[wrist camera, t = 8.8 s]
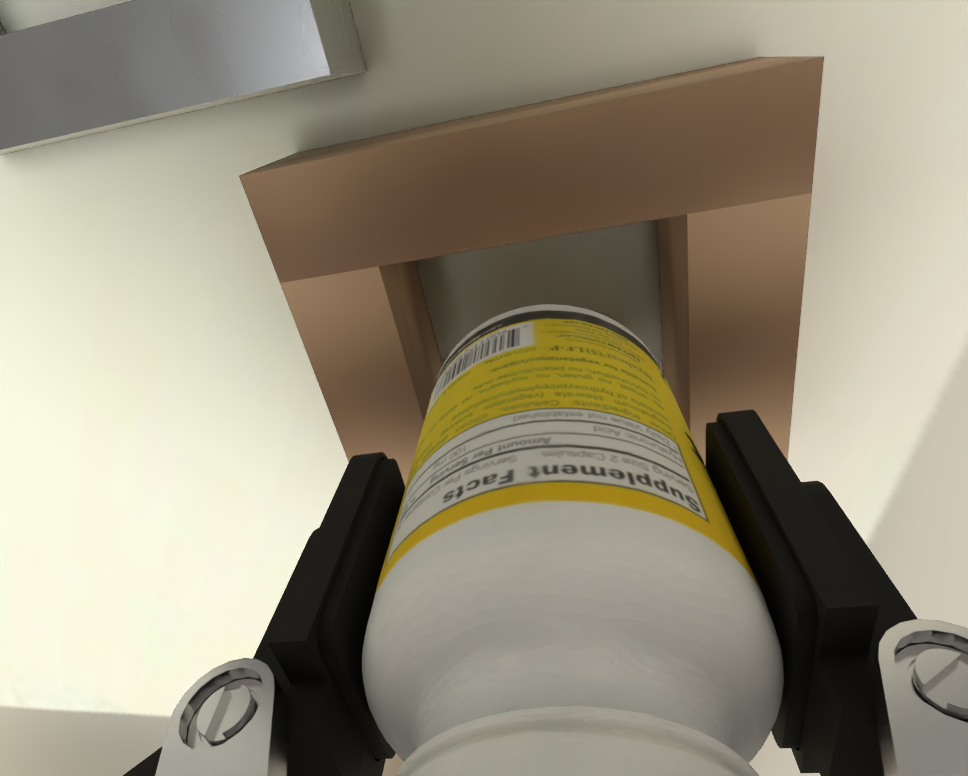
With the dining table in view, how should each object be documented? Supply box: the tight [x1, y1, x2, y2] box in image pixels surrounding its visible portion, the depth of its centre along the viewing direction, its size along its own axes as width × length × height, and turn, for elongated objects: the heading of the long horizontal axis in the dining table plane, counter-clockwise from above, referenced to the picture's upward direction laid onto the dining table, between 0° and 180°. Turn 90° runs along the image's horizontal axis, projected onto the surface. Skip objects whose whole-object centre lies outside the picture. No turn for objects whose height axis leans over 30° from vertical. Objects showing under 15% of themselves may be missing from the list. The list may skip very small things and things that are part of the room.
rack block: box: [239, 57, 824, 487], centre depth 16 cm, size 12×12×4 cm
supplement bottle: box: [362, 304, 784, 776], centre depth 9 cm, size 5×5×10 cm
